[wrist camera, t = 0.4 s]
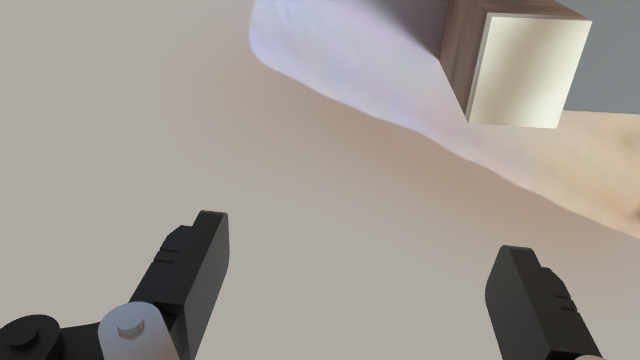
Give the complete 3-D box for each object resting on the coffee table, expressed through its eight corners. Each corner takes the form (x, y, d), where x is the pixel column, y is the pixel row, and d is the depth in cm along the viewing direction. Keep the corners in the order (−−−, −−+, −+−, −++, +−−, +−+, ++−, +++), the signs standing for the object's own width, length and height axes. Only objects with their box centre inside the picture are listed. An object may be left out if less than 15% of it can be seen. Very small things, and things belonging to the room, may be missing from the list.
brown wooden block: (521, -18, 33) (592, 21, 23) (501, 63, 36) (556, 128, 26) (452, -20, 33) (492, 16, 23) (439, 60, 36) (468, 123, 26)
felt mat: (787, -64, 30) (792, -64, 30) (695, 115, 37) (698, 117, 37) (550, -72, 31) (552, -72, 31) (504, 105, 38) (505, 106, 37)
